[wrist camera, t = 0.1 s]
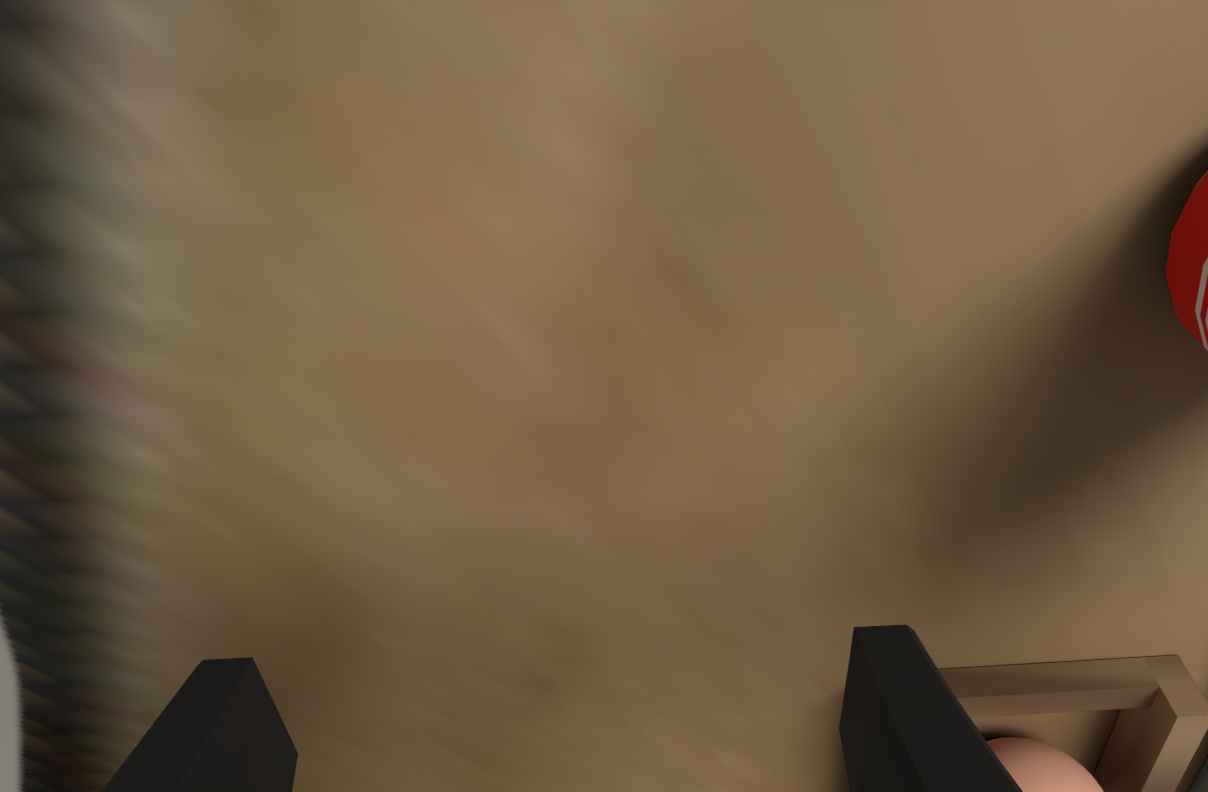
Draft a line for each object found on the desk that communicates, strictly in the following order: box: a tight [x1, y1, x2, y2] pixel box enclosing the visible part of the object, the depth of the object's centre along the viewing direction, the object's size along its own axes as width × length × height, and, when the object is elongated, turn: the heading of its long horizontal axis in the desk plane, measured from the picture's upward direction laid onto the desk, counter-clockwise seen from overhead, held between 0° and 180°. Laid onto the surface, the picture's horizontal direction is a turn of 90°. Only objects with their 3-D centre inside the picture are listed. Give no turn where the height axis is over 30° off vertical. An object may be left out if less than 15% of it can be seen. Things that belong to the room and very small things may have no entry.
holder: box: [939, 655, 1208, 792], centre depth 29 cm, size 9×9×2 cm
